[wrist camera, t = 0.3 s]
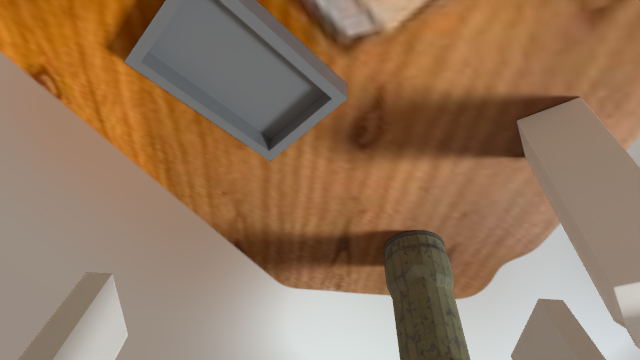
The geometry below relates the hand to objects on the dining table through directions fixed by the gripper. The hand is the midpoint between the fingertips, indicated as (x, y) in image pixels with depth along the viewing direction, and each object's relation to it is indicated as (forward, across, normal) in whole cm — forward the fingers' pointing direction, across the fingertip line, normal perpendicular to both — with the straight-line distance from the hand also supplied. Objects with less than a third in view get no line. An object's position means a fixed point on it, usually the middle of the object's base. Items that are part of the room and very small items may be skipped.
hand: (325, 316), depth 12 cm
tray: (+27, -8, +1) cm, 28 cm away
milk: (+29, +24, -3) cm, 38 cm away
